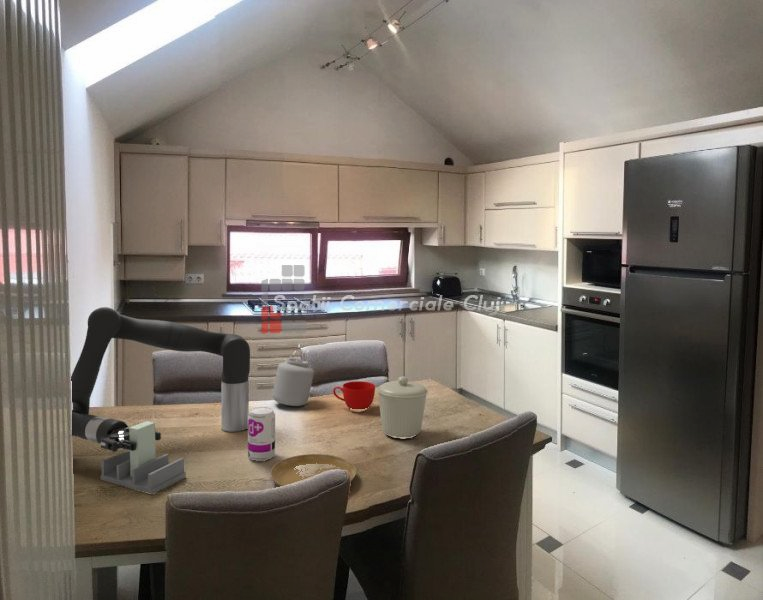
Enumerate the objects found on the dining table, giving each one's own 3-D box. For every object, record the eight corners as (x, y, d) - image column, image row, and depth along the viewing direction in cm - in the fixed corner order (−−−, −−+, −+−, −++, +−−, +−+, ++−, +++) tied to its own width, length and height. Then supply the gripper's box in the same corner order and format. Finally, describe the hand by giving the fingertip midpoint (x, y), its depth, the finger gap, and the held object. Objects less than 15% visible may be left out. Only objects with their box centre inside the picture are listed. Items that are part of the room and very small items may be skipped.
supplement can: (261, 464, 162) (262, 416, 160) (242, 458, 166) (242, 411, 164) (280, 455, 169) (280, 409, 167) (261, 449, 173) (261, 404, 171)
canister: (437, 435, 191) (439, 377, 188) (403, 448, 178) (406, 386, 175) (398, 422, 203) (400, 367, 201) (365, 433, 190) (366, 375, 187)
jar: (306, 396, 232) (307, 339, 229) (324, 405, 220) (325, 345, 217) (266, 403, 221) (266, 343, 218) (281, 413, 209) (282, 350, 206)
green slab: (130, 476, 148) (129, 427, 147) (148, 468, 154) (147, 420, 152) (138, 478, 147) (137, 429, 146) (155, 470, 153) (154, 422, 151)
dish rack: (100, 479, 149) (100, 460, 148) (136, 463, 160) (135, 445, 159) (152, 495, 141) (151, 475, 141) (185, 477, 152) (185, 458, 152)
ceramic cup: (336, 402, 224) (337, 379, 222) (376, 405, 221) (377, 382, 220) (329, 412, 211) (329, 388, 210) (371, 416, 209) (372, 391, 207)
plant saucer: (317, 456, 170) (317, 446, 169) (373, 481, 154) (373, 470, 154) (252, 481, 152) (252, 470, 151) (309, 511, 136) (309, 499, 136)
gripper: (83, 426, 148) (125, 437, 142) (126, 411, 161) (167, 420, 155) (84, 452, 149) (126, 464, 143) (127, 435, 162) (167, 445, 155)
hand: (147, 441), depth 149 cm, fingers open, 8 cm apart
